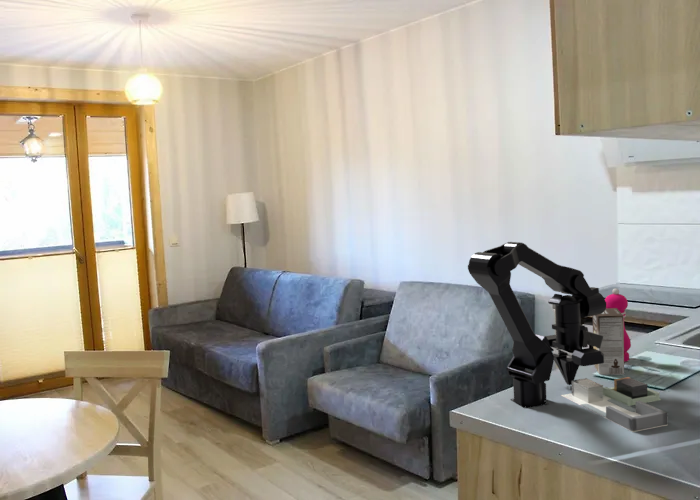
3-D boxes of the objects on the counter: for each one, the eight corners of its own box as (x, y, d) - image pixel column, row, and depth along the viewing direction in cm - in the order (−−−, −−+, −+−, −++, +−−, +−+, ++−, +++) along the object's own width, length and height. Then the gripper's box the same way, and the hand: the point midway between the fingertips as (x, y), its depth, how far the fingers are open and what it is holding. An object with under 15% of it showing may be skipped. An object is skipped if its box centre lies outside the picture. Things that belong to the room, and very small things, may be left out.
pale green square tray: (627, 408, 139) (627, 399, 139) (601, 395, 148) (601, 387, 148) (661, 402, 142) (661, 393, 141) (633, 390, 150) (633, 381, 150)
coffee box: (592, 366, 171) (591, 308, 169) (617, 366, 169) (616, 307, 168) (599, 376, 162) (597, 315, 160) (625, 377, 160) (624, 315, 159)
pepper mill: (628, 364, 171) (627, 291, 168) (600, 361, 174) (599, 290, 172) (632, 357, 177) (631, 286, 175) (605, 354, 180) (604, 285, 178)
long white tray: (632, 434, 125) (632, 419, 125) (560, 397, 148) (560, 384, 148) (668, 427, 128) (668, 412, 127) (592, 392, 151) (591, 379, 150)
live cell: (632, 402, 141) (632, 386, 141) (614, 394, 147) (614, 379, 147) (647, 399, 142) (647, 384, 142) (628, 391, 148) (628, 377, 148)
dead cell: (588, 403, 142) (587, 388, 142) (571, 395, 148) (571, 380, 148) (603, 400, 143) (602, 385, 143) (586, 392, 149) (586, 378, 149)
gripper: (623, 324, 144) (624, 390, 145) (572, 310, 161) (574, 369, 163) (581, 330, 141) (583, 398, 142) (534, 315, 158) (536, 375, 160)
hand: (569, 384), depth 152 cm, fingers closed
